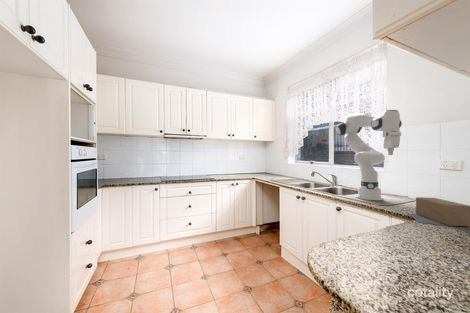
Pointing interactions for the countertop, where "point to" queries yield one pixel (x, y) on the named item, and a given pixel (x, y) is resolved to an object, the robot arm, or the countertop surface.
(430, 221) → the mat
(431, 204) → the wooden block
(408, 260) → the countertop surface
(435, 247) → the countertop surface
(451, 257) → the countertop surface
